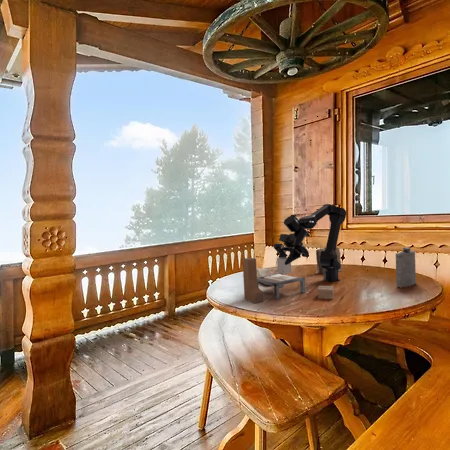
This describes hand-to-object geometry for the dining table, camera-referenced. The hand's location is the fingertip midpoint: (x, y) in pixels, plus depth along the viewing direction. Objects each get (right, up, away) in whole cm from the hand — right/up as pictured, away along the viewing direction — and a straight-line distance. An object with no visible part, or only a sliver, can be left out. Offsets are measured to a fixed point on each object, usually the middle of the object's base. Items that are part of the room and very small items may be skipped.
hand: (281, 263), depth 146 cm
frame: (-1, -13, 0) cm, 13 cm away
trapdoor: (-1, -9, 0) cm, 9 cm away
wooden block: (-14, -15, -11) cm, 23 cm away
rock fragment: (-6, -13, +30) cm, 33 cm away
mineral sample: (+36, -10, +41) cm, 56 cm away
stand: (+17, -13, -11) cm, 24 cm away
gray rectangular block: (+1, -4, +1) cm, 5 cm away
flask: (+60, -11, +2) cm, 61 cm away
